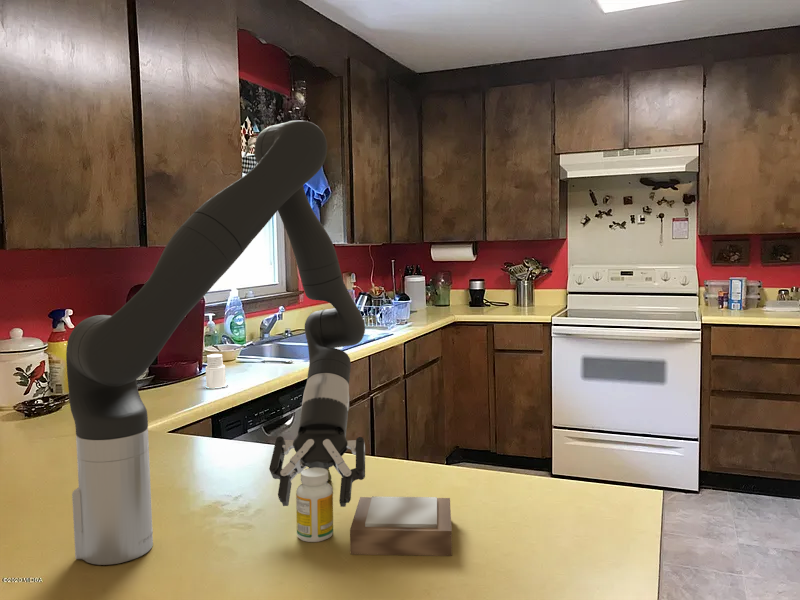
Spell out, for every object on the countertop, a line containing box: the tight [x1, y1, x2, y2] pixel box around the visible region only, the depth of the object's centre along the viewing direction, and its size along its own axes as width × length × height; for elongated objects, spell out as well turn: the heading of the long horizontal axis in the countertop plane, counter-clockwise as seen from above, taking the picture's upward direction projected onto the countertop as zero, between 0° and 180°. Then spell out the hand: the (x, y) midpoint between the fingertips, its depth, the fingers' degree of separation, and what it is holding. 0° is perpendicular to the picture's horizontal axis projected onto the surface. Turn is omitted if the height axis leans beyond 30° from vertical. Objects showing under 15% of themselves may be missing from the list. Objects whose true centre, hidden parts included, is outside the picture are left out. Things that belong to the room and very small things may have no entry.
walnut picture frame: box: [349, 496, 453, 557], centre depth 97 cm, size 14×12×4 cm
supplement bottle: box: [295, 467, 334, 543], centre depth 98 cm, size 5×5×10 cm
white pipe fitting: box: [205, 353, 227, 388], centre depth 204 cm, size 8×7×10 cm
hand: (313, 504), depth 97 cm, fingers open, 8 cm apart
